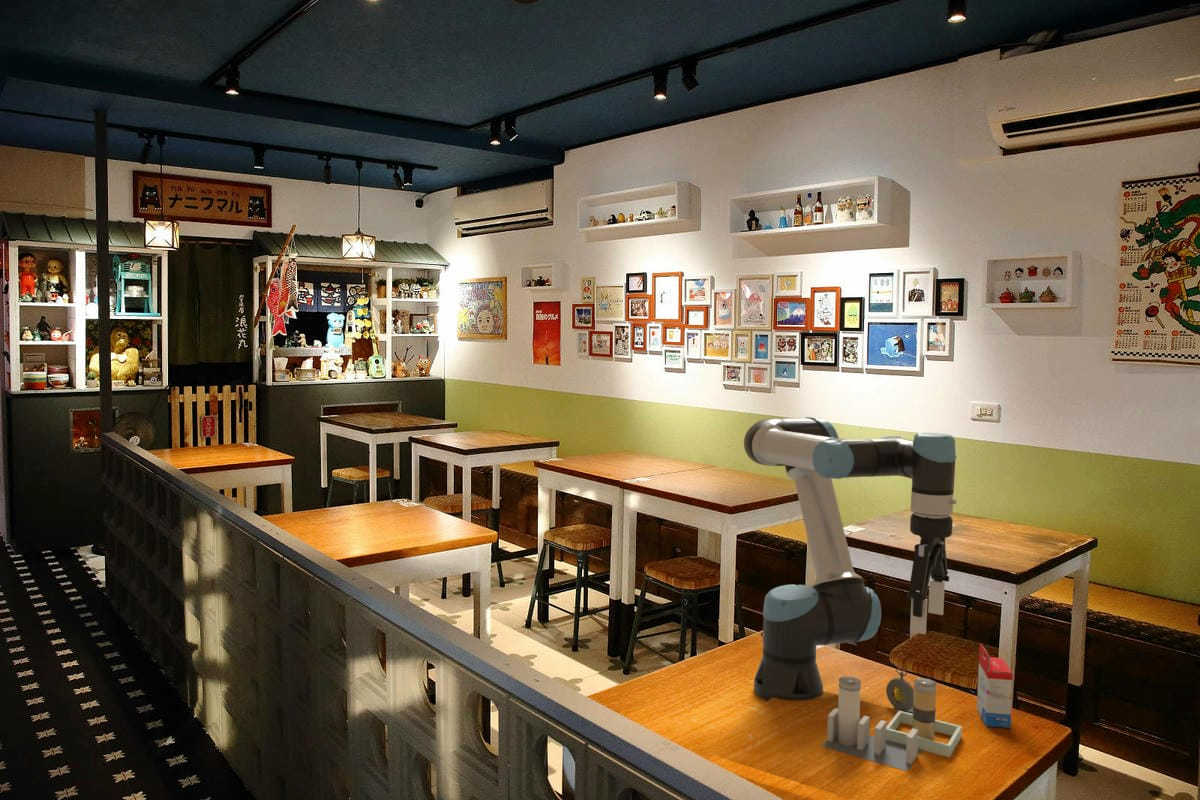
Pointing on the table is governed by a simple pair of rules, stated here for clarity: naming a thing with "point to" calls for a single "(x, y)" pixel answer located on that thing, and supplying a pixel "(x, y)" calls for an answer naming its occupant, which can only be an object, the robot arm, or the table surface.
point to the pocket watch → (901, 693)
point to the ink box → (994, 690)
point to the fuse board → (874, 744)
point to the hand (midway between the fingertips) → (927, 622)
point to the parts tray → (924, 742)
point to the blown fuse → (924, 707)
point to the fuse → (848, 710)
